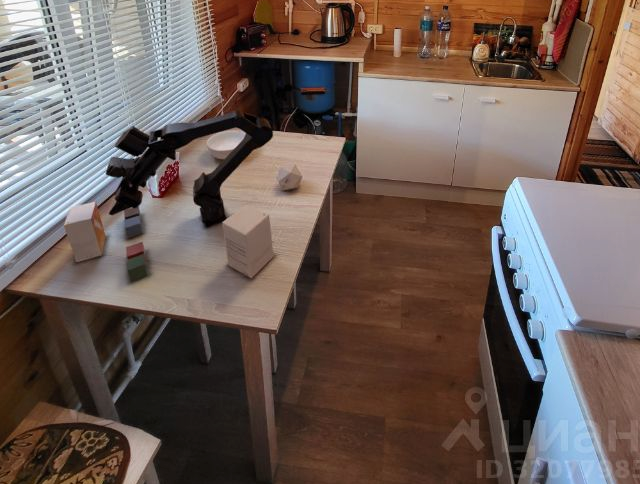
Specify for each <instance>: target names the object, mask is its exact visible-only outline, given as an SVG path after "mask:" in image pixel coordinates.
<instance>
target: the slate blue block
mask: <svg viewBox="0 0 640 484" xmlns="http://www.w3.org/2000/svg"><path fill="white" fill-rule="evenodd" d="M141 220H142V218H141V219H140V216H136V217H133V218H130V219H127V220H125V219H124V229H125V233H126V237H127V239H131V238H134V237H138V236H140V235H143V234H144V229H143V222H142V223H141Z"/></svg>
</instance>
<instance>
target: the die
mask: <svg viewBox="0 0 640 484" xmlns="http://www.w3.org/2000/svg"><path fill="white" fill-rule="evenodd" d="M302 179H303V175H302V174H301V172H300V169H299V168H298V166H297V165H296V163H294V164H289V165H284V166H280V168H279V170H278V173H277V175H276V180H277V182H278V184H279V185H280V187H281V189H282V191H288V190H293V189H298V188H299V186H300V184H301V181H302Z"/></svg>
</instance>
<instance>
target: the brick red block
mask: <svg viewBox="0 0 640 484" xmlns="http://www.w3.org/2000/svg"><path fill="white" fill-rule="evenodd" d="M125 251H126V261H127V260H129V259H131V258H134V257H137V256H140V255H142V254H144V257H145V261H146V262H147V257H146V256H147V255H146V249H145V246H144V242H143V241H139V242H137V243H134V244H131V245H128V246H126V247H125Z"/></svg>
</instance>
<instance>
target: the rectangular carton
mask: <svg viewBox="0 0 640 484" xmlns="http://www.w3.org/2000/svg"><path fill="white" fill-rule="evenodd" d="M226 218H227V219H226V220H225V221H224V222H221V225H222V232H223V239H224V244H225V250H226V257H227V258H226V259H227V263H228V266H229V267H231V268H233V270H236V271H237V272H239V273H241V274H243V275H245V276H246V277H248V278H250V279H252V278H254V277H255V275H257V274H258V272H260V271H261V270H262V268H264V267H265V266H266V264H268V262H270V261H271V259H272V258H273V257H274V256H275V255H274V246H273V238H272V229H271V219H270V218H271V217H270V214H269V213H267V212H264V211H262V210H260V209H258V208H256V207H254V206H252V205H250V204H247V203H246V204H244V205H243V206H242V207H240V208H239V209H238V210H237V211H235V212H234V213H233V214H231V215H230V216H228V217H226Z"/></svg>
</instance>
